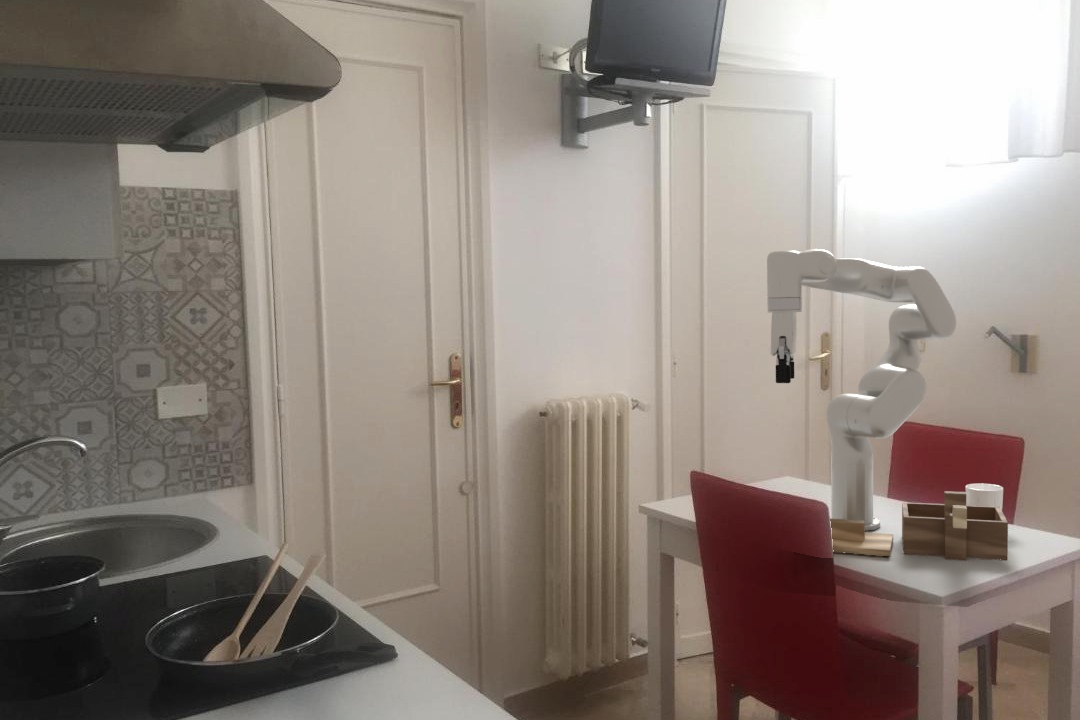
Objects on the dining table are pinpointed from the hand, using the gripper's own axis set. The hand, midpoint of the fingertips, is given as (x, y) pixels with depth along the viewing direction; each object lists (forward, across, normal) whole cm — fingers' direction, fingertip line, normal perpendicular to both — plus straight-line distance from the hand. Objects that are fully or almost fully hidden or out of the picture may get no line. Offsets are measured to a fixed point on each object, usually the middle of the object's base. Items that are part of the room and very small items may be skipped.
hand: (785, 380), depth 212 cm
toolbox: (+36, +1, +35) cm, 50 cm away
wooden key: (+27, +17, +35) cm, 47 cm away
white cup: (+36, -17, +43) cm, 59 cm away
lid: (+37, +5, +13) cm, 39 cm away
